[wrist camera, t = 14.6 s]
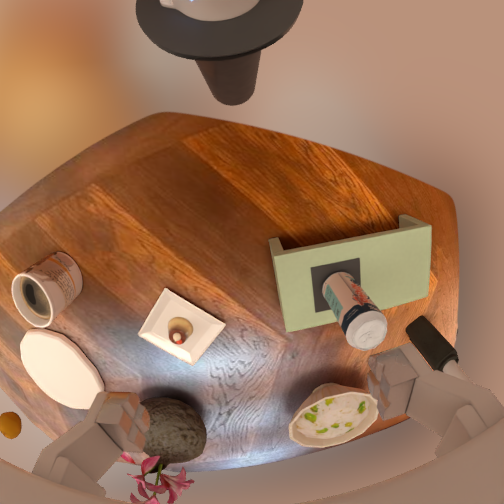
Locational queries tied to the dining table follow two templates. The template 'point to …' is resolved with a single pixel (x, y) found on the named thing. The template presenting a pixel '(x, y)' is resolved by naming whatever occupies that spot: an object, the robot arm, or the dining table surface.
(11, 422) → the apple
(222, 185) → the dining table surface
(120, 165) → the dining table surface
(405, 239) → the shelf
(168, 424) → the vase
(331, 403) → the bowl
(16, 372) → the dining table surface
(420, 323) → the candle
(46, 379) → the decorative plate
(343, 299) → the beer can
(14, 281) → the mug
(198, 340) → the dessert
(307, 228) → the dining table surface
